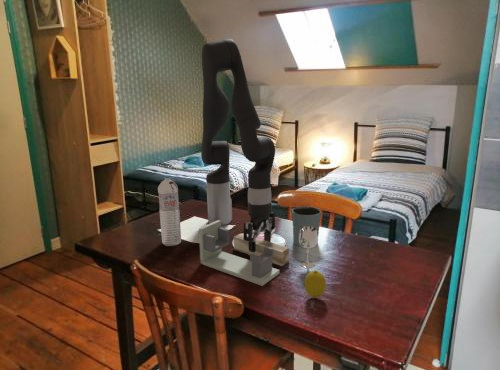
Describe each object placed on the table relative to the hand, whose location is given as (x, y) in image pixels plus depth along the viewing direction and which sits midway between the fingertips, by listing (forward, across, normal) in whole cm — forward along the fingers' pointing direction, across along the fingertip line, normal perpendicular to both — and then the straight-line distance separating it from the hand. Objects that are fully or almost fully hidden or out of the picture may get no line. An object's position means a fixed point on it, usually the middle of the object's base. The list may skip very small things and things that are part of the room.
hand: (260, 247), depth 130 cm
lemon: (+3, +13, +27) cm, 30 cm away
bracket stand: (+3, +11, 0) cm, 12 cm away
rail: (+3, 0, 0) cm, 3 cm away
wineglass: (+3, -3, +16) cm, 17 cm away
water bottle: (+3, +10, -32) cm, 34 cm away
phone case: (+4, -14, -10) cm, 17 cm away
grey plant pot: (+3, -18, +7) cm, 20 cm away
